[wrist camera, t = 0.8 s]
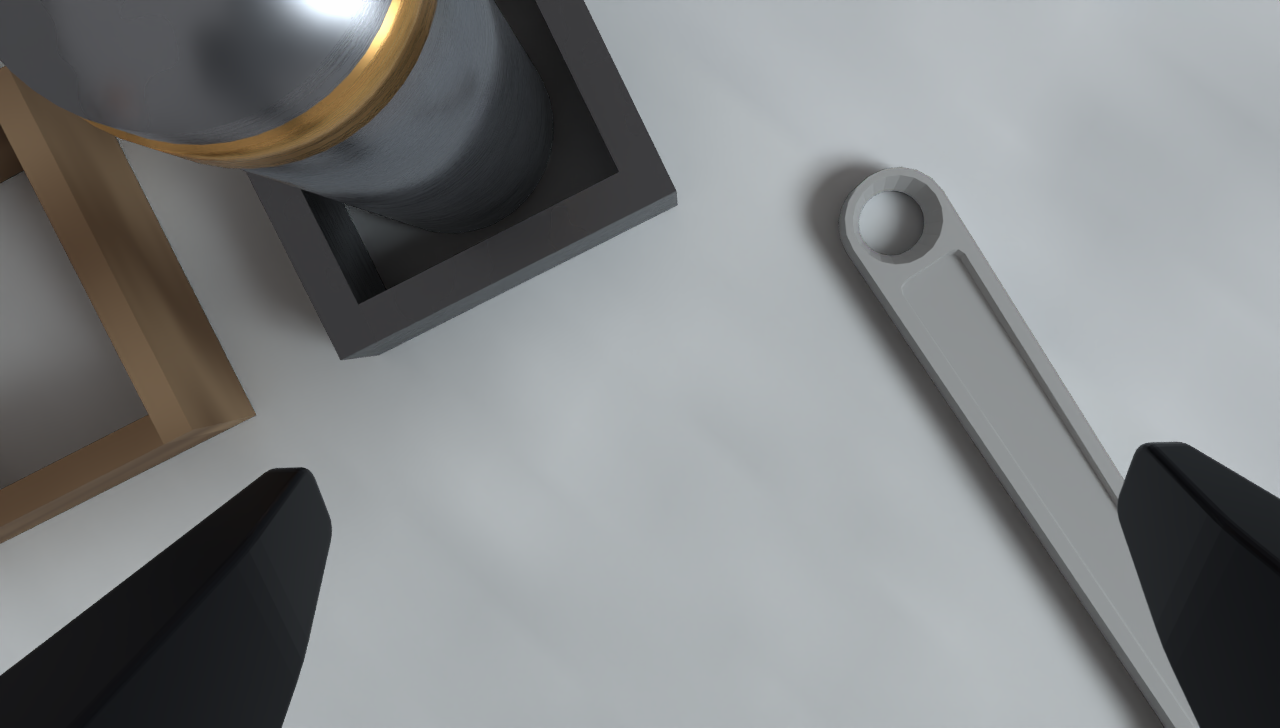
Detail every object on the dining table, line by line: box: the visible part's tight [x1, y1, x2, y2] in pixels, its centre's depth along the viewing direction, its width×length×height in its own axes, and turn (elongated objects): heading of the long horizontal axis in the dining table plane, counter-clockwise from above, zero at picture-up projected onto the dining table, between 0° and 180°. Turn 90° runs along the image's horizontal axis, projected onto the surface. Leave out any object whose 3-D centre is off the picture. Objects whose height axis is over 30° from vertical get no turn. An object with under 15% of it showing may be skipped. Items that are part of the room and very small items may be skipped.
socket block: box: [246, 0, 678, 360], centre depth 21 cm, size 9×9×2 cm
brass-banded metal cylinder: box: [0, 0, 553, 233], centre depth 16 cm, size 6×6×12 cm
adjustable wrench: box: [838, 167, 1200, 728], centre depth 22 cm, size 25×6×2 cm, turn 29°
